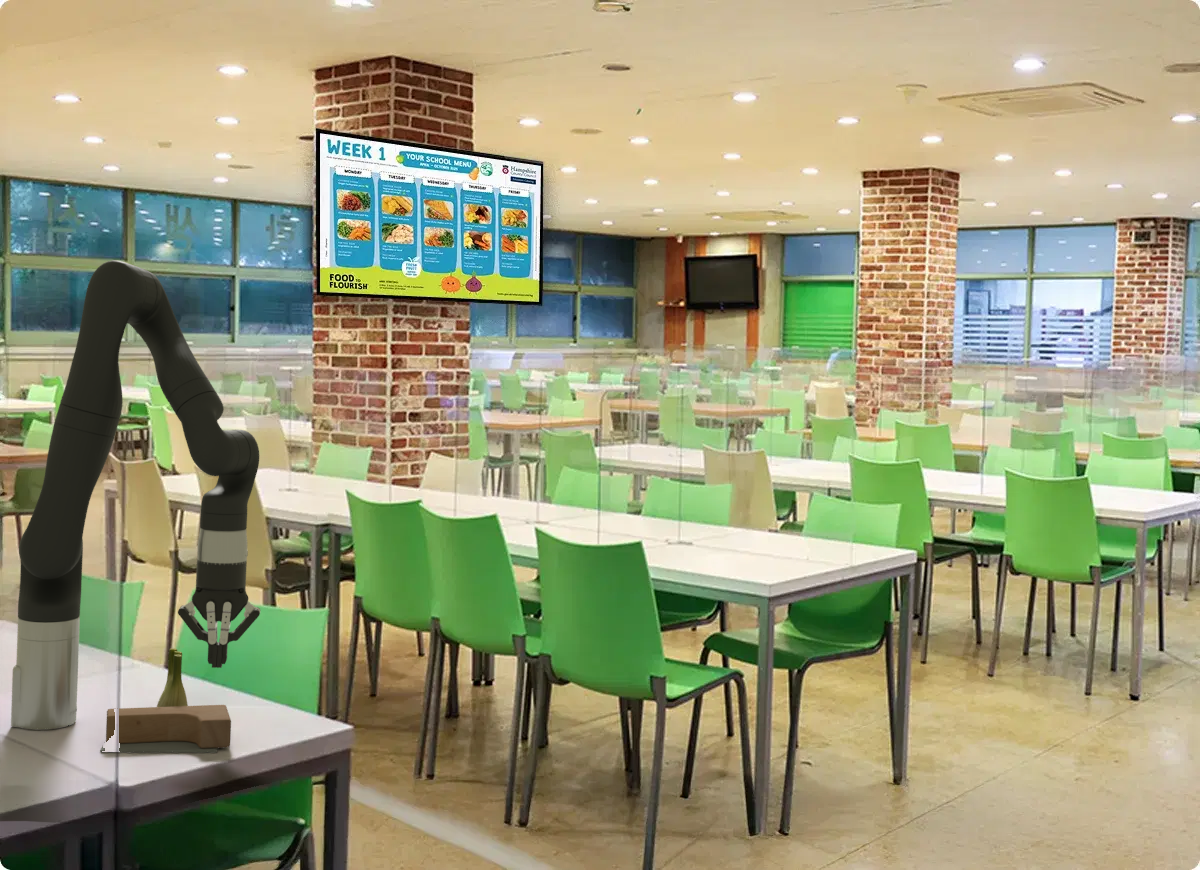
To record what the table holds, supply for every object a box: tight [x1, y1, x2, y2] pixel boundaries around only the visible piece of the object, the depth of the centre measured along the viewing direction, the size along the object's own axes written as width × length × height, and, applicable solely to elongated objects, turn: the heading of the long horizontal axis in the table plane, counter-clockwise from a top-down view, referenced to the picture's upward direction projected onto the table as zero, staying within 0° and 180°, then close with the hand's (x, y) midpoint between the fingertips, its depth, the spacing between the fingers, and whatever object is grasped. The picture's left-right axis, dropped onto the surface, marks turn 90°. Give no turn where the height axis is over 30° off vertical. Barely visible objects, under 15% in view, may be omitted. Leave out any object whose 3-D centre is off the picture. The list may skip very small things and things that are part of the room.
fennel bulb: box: [156, 647, 189, 707], centre depth 221 cm, size 6×5×12 cm
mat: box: [99, 741, 219, 754], centre depth 211 cm, size 17×12×1 cm
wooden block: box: [105, 704, 232, 749], centre depth 209 cm, size 9×4×18 cm
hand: (217, 666), depth 211 cm, fingers closed
